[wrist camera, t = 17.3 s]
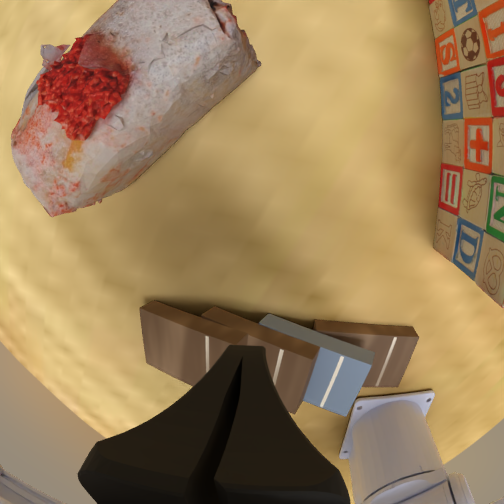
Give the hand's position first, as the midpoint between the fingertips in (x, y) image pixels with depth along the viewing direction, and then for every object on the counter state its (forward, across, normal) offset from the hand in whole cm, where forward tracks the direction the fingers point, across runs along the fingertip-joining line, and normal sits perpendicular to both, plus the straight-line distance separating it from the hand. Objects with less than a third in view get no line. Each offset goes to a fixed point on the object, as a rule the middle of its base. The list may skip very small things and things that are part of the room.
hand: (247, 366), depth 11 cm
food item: (+11, +7, -11) cm, 17 cm away
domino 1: (+10, +9, +5) cm, 14 cm away
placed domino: (+10, 0, +6) cm, 11 cm away
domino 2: (+10, +4, +5) cm, 12 cm away
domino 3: (+10, -3, +6) cm, 12 cm away
